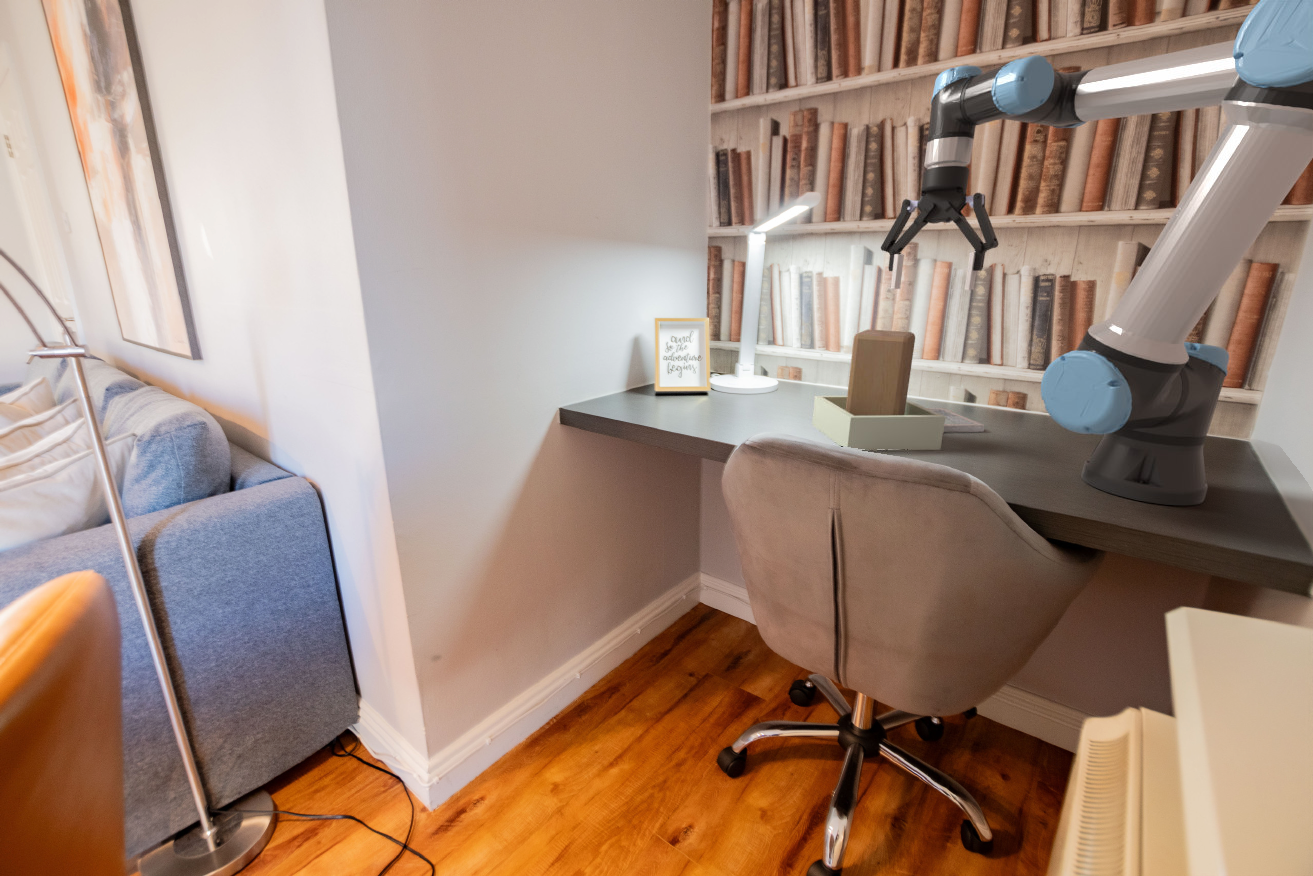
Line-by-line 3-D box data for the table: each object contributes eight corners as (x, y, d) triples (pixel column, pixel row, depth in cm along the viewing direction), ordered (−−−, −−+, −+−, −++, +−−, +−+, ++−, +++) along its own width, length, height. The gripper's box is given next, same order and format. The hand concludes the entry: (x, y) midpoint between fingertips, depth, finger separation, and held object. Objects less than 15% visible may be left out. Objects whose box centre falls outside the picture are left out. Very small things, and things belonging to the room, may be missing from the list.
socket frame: (983, 432, 121) (984, 425, 120) (914, 432, 119) (915, 425, 119) (941, 414, 136) (942, 408, 135) (879, 414, 134) (880, 408, 134)
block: (902, 430, 118) (916, 331, 112) (895, 441, 109) (909, 336, 104) (852, 423, 123) (863, 328, 117) (842, 433, 114) (853, 332, 109)
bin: (940, 449, 108) (945, 416, 107) (846, 451, 107) (850, 417, 105) (892, 424, 126) (896, 395, 124) (812, 425, 124) (814, 395, 122)
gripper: (1031, 161, 97) (1010, 290, 103) (887, 178, 114) (876, 288, 120) (1019, 154, 92) (997, 290, 98) (870, 173, 109) (859, 288, 115)
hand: (930, 289), depth 109 cm, fingers open, 13 cm apart
